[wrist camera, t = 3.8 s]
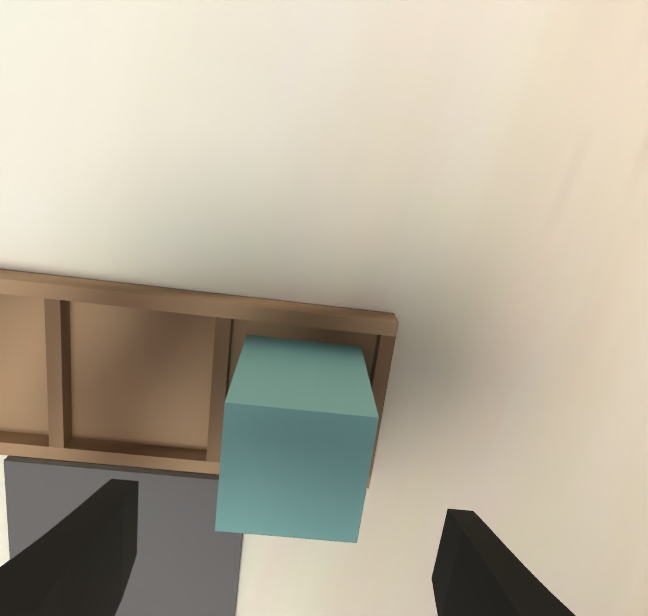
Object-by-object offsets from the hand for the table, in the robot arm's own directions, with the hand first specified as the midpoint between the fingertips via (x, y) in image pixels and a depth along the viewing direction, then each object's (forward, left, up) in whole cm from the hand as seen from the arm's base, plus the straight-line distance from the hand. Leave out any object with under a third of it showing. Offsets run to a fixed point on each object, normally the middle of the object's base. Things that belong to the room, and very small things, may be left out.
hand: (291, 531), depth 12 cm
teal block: (0, 0, -7) cm, 7 cm away
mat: (+6, +9, -7) cm, 13 cm away
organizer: (+6, 0, -7) cm, 9 cm away
